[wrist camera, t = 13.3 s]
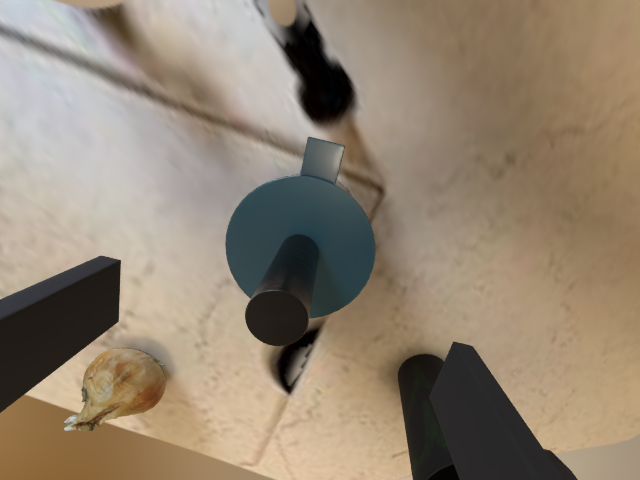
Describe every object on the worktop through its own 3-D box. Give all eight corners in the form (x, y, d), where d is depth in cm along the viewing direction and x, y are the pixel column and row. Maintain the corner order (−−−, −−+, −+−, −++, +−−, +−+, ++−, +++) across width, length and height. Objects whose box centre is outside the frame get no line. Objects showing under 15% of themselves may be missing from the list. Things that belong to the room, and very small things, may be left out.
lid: (392, 195, 19) (439, 233, 11) (351, 324, 22) (362, 436, 14) (242, 158, 19) (164, 165, 10) (222, 293, 22) (147, 387, 13)
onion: (174, 396, 35) (129, 464, 28) (108, 378, 35) (45, 442, 27) (182, 345, 33) (136, 403, 25) (112, 326, 33) (45, 379, 25)
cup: (398, 340, 31) (434, 449, 20) (468, 352, 32) (544, 469, 20) (381, 396, 34) (404, 523, 22) (446, 407, 34) (503, 540, 22)
